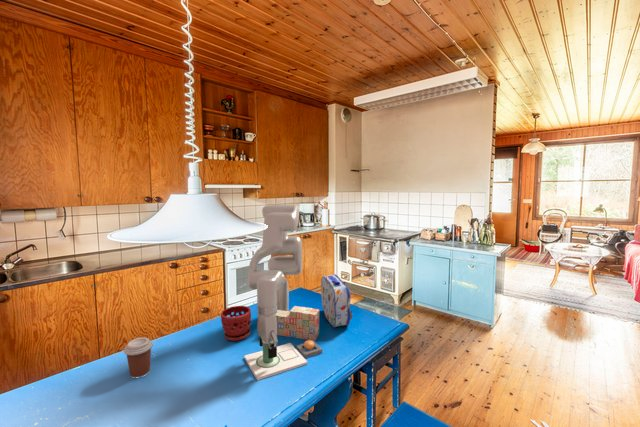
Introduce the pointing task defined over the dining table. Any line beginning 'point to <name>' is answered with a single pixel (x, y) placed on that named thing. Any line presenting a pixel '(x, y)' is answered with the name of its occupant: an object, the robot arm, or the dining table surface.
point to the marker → (266, 352)
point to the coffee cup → (138, 356)
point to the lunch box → (335, 300)
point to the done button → (309, 345)
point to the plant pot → (236, 323)
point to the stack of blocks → (298, 323)
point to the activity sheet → (275, 361)
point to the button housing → (309, 353)
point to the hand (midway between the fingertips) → (267, 351)
